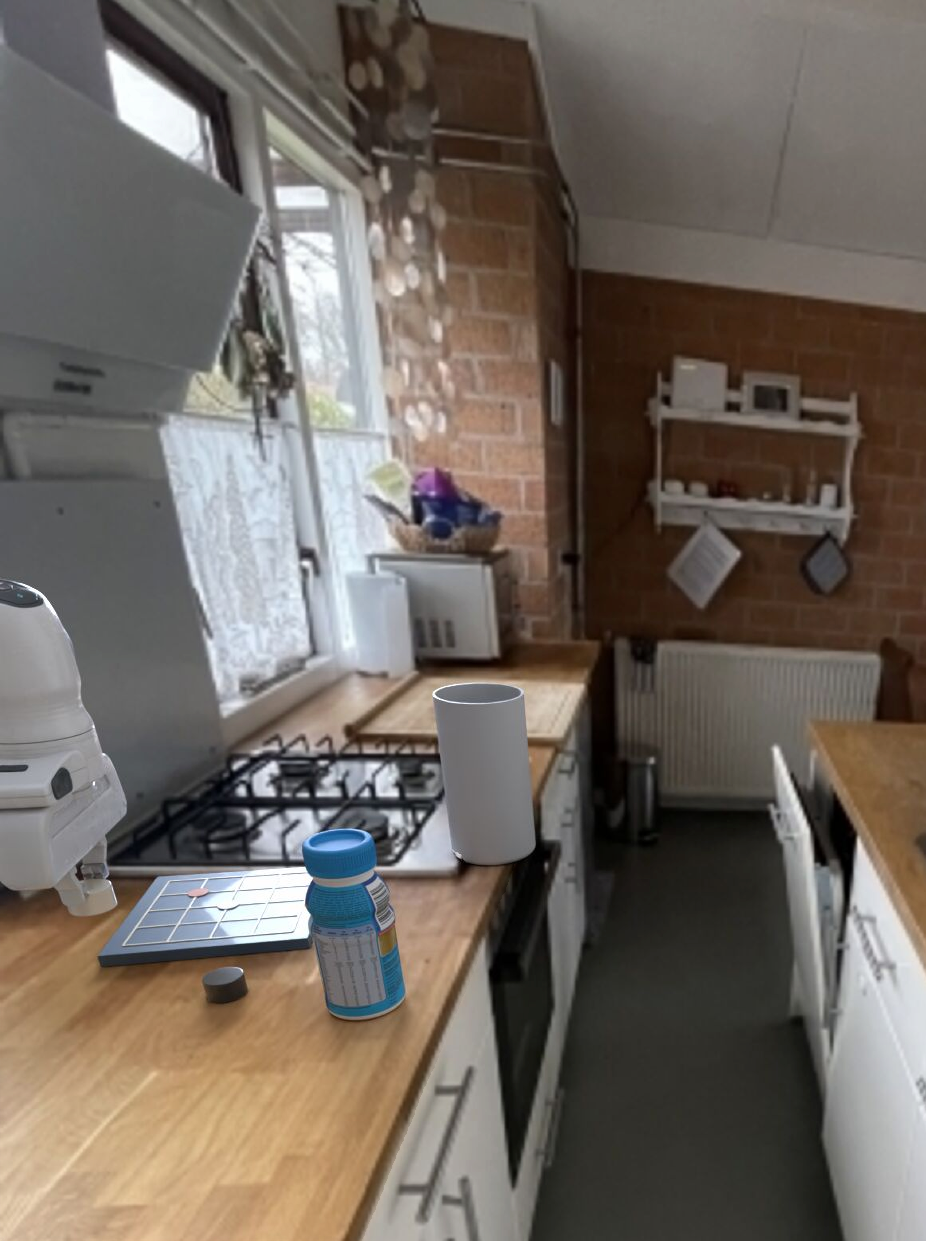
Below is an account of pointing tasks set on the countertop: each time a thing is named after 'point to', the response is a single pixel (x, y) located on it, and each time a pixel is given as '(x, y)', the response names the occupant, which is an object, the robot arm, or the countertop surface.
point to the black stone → (224, 984)
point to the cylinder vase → (486, 771)
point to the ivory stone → (96, 898)
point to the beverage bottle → (352, 925)
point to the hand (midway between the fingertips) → (87, 891)
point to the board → (214, 917)
